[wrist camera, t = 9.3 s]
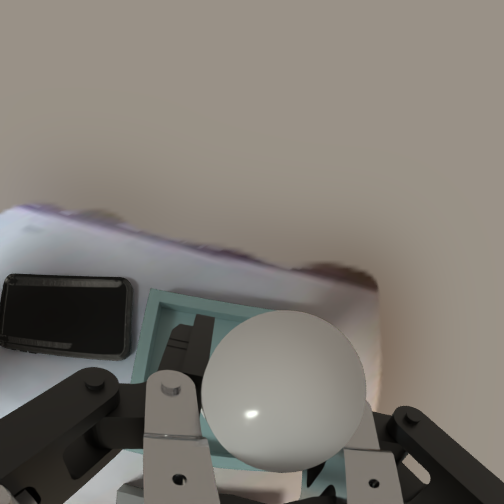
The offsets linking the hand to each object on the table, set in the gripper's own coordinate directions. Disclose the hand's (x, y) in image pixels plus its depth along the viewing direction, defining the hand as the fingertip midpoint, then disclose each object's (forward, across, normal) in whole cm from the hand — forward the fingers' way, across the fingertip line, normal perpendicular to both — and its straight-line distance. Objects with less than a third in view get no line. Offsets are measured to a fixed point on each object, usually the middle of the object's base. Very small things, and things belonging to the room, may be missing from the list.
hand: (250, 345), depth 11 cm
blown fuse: (+2, 0, +4) cm, 5 cm away
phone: (+13, +16, +10) cm, 23 cm away
